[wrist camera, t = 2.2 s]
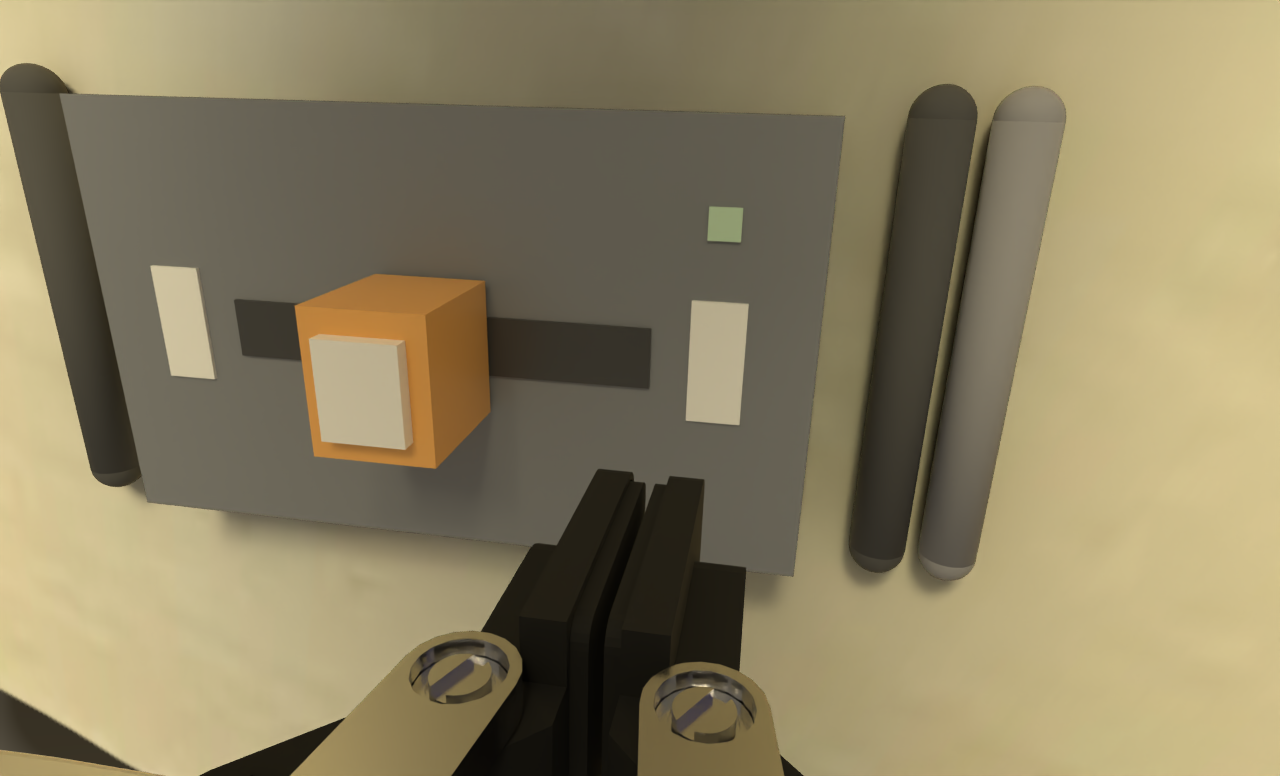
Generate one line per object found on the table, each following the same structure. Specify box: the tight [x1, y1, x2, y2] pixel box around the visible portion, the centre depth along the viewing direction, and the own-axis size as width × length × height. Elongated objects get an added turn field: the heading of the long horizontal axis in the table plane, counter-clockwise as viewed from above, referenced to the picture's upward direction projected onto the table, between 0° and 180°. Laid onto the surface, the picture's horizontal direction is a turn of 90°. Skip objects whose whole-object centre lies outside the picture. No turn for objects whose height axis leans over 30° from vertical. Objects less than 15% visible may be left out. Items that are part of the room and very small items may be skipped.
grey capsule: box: [849, 84, 978, 573], centre depth 21 cm, size 14×2×2 cm, turn 178°
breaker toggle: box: [295, 274, 491, 469], centre depth 18 cm, size 4×3×4 cm
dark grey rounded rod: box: [0, 63, 142, 487], centre depth 24 cm, size 14×2×2 cm, turn 178°
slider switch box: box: [59, 93, 845, 577], centre depth 22 cm, size 12×20×3 cm, turn 88°
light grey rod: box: [918, 86, 1066, 581], centre depth 20 cm, size 14×2×2 cm, turn 178°
